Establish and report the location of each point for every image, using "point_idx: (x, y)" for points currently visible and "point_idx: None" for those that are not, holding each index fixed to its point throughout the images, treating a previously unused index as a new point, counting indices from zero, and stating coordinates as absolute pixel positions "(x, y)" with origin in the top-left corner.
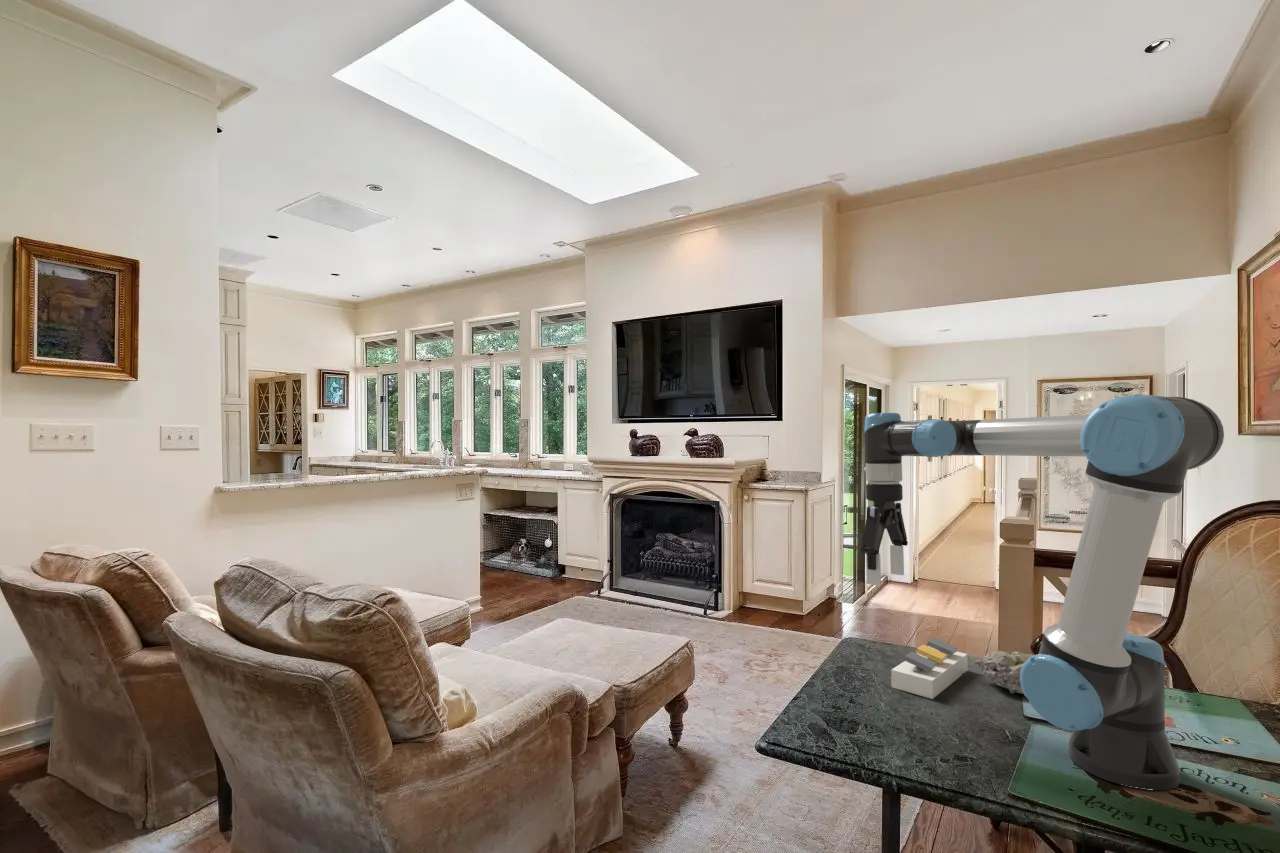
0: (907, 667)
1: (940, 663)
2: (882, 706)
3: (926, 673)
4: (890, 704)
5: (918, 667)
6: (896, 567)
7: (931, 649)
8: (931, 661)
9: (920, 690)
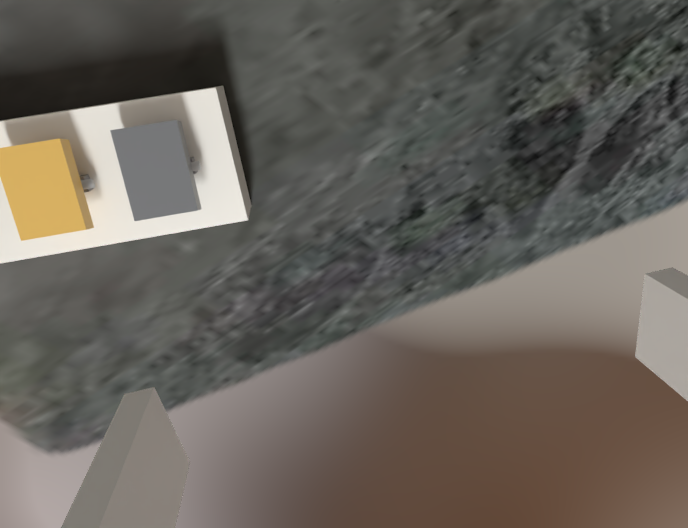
0: None
1: None
2: (383, 147)
3: None
4: (355, 141)
5: None
6: (157, 478)
7: (25, 201)
8: (124, 143)
9: (230, 123)
